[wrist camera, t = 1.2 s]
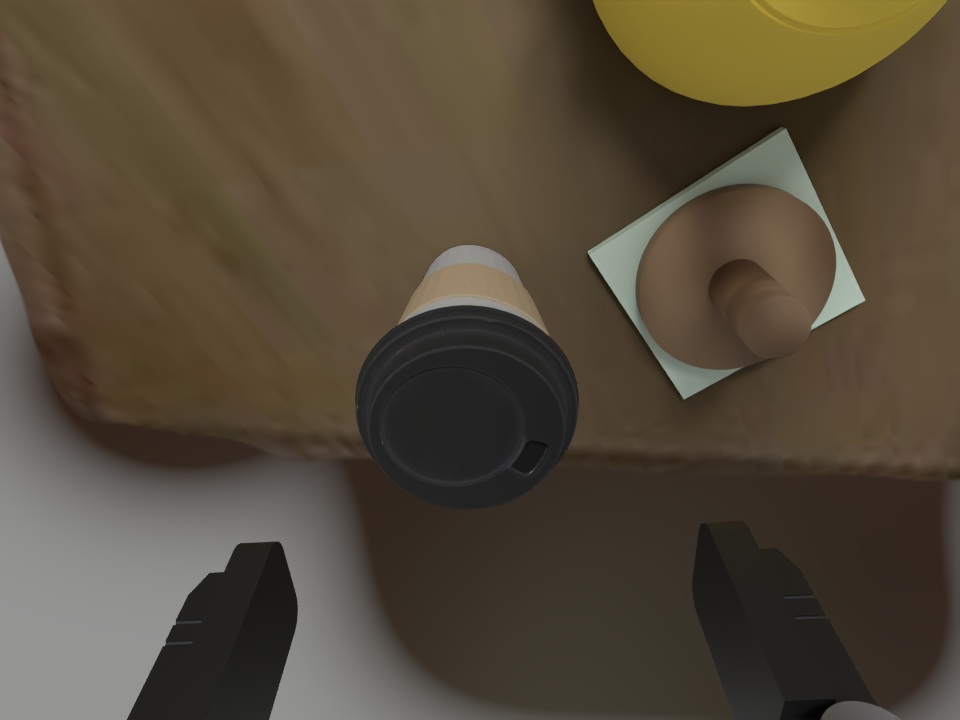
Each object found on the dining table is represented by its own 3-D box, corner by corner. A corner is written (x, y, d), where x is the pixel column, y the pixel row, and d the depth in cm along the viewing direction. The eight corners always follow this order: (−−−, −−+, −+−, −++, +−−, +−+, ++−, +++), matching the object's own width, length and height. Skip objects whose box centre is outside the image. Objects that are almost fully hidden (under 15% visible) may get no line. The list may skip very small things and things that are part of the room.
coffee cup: (546, 357, 41) (579, 522, 28) (398, 361, 41) (361, 526, 28) (550, 210, 37) (591, 323, 24) (383, 214, 37) (332, 330, 24)
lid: (780, 142, 34) (847, 171, 28) (853, 298, 39) (925, 353, 33) (600, 256, 37) (625, 305, 31) (687, 390, 42) (723, 456, 36)
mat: (781, 126, 35) (785, 128, 34) (860, 296, 39) (865, 300, 39) (587, 251, 38) (589, 254, 37) (681, 394, 43) (684, 399, 42)
